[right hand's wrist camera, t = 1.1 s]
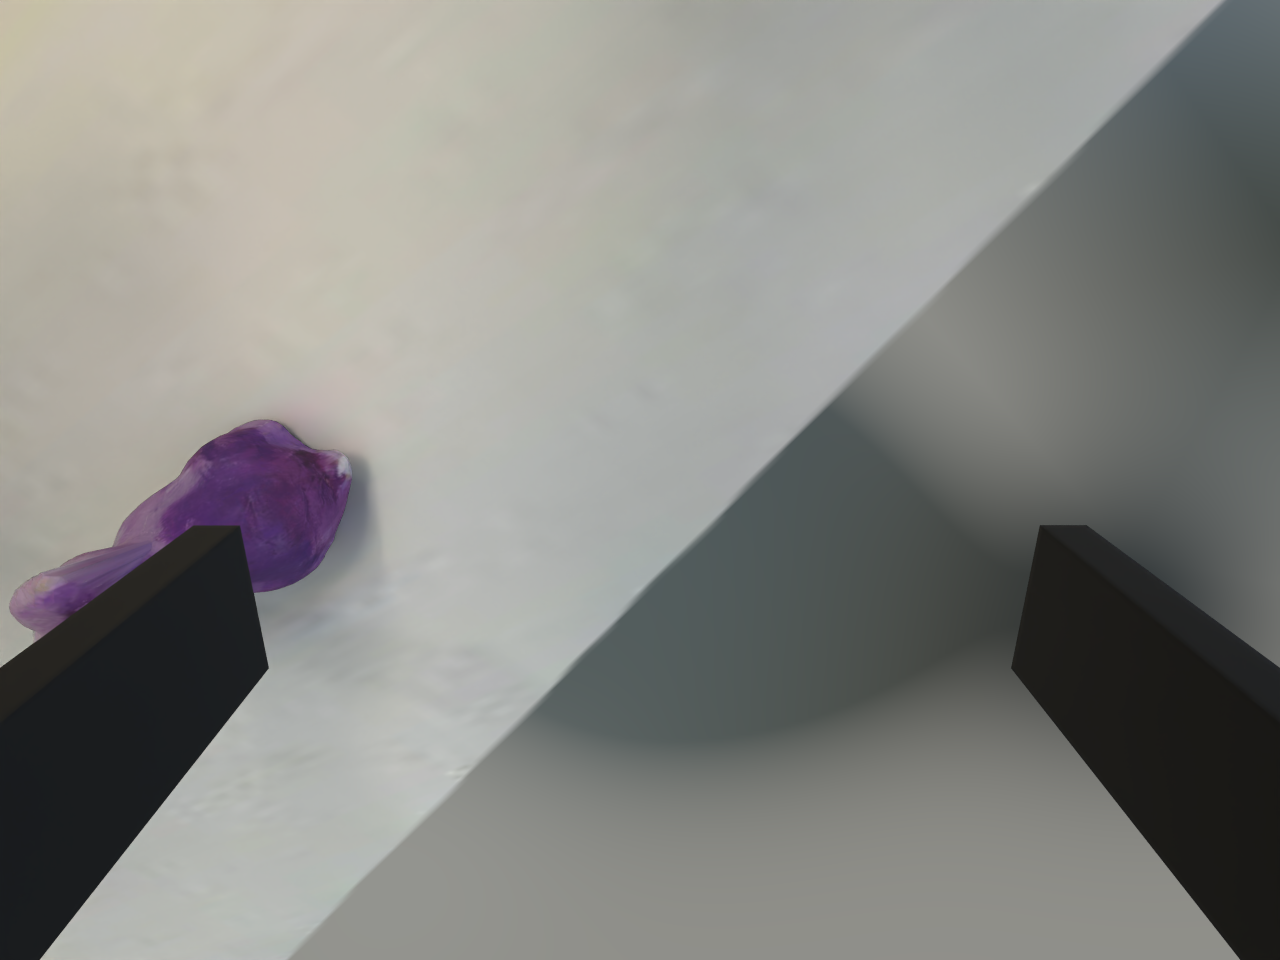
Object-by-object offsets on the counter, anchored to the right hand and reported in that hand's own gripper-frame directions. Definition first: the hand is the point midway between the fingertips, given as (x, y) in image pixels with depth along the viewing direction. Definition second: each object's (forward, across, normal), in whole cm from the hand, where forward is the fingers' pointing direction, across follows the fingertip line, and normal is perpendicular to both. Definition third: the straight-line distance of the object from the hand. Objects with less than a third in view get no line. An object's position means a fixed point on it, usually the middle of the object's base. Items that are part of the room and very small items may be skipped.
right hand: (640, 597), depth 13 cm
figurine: (+27, -20, -9) cm, 35 cm away
